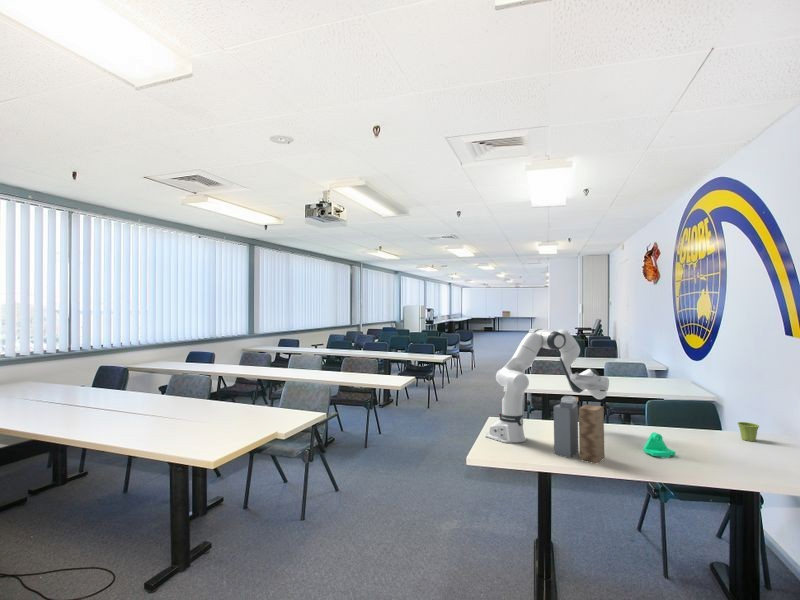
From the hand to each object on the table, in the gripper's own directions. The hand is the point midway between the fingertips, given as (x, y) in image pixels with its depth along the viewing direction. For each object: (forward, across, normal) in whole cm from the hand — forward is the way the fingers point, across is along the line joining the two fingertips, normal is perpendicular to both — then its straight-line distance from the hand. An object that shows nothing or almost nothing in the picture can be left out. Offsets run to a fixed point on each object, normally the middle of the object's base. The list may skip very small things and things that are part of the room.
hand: (585, 374), depth 237 cm
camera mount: (-18, +36, +32) cm, 51 cm away
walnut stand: (+7, +12, +46) cm, 48 cm away
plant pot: (-69, +67, +2) cm, 96 cm away
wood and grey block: (+15, +1, +23) cm, 28 cm away
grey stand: (+7, 0, +46) cm, 47 cm away
